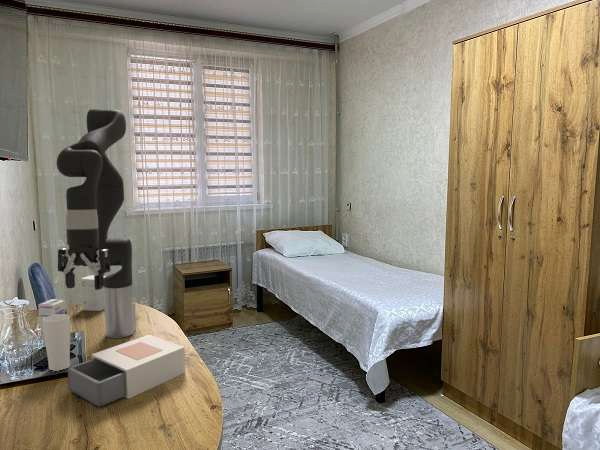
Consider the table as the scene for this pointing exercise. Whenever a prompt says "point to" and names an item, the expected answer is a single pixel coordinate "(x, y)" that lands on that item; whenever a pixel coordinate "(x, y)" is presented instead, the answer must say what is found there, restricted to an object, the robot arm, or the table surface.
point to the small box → (91, 295)
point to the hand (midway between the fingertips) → (84, 288)
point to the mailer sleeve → (145, 362)
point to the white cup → (57, 341)
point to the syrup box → (51, 311)
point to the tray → (97, 382)
